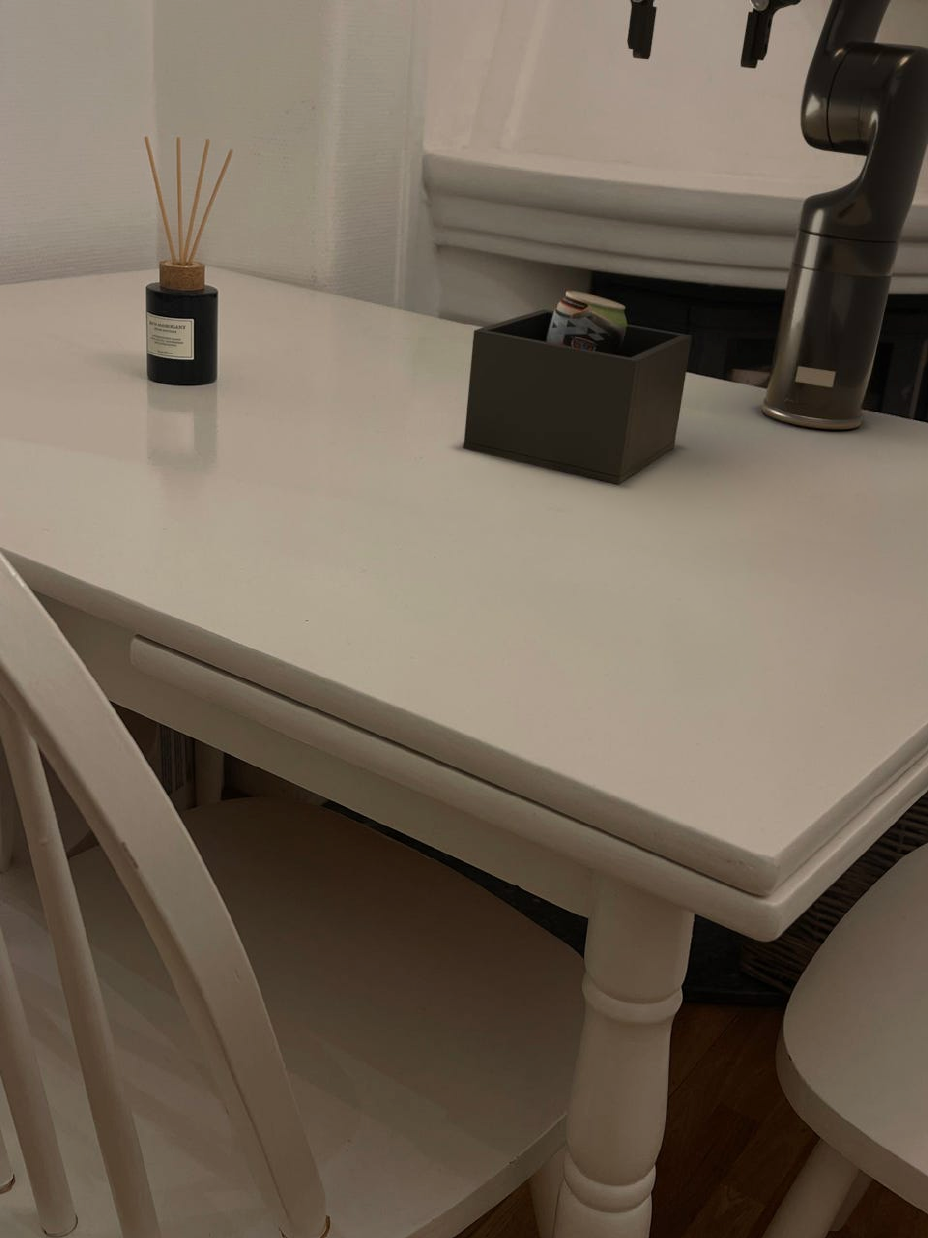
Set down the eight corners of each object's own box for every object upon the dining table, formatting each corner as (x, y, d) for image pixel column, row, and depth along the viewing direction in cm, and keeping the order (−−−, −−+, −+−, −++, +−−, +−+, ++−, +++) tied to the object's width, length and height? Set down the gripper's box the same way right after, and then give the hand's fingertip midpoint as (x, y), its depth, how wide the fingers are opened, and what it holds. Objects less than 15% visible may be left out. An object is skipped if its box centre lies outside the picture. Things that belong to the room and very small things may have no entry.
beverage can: (511, 429, 107) (527, 285, 102) (587, 427, 110) (605, 286, 105) (545, 451, 101) (563, 300, 97) (624, 448, 104) (645, 301, 100)
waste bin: (531, 416, 114) (543, 308, 110) (674, 446, 108) (692, 335, 105) (462, 448, 102) (473, 329, 99) (618, 484, 97) (636, 360, 93)
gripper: (841, -175, 90) (797, 73, 96) (652, -177, 95) (623, 57, 102) (818, -197, 83) (772, 69, 90) (617, -198, 89) (588, 52, 96)
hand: (693, 62), depth 96 cm, fingers open, 8 cm apart
